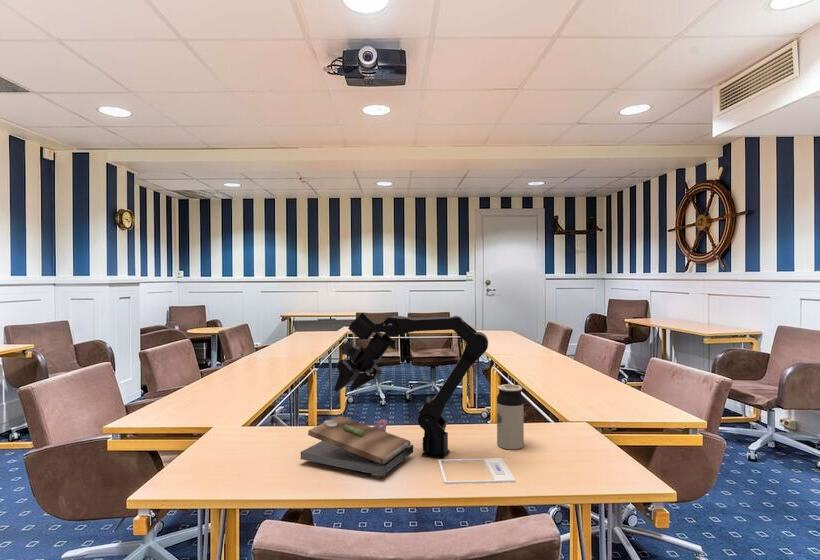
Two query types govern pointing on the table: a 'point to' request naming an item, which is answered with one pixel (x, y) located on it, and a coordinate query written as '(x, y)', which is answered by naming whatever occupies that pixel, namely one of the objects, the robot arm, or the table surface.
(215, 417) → the table surface
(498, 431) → the travel mug
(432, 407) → the robot arm
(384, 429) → the purple lumpy shape
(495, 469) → the photo frame
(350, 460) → the dark grey flat box
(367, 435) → the plate
